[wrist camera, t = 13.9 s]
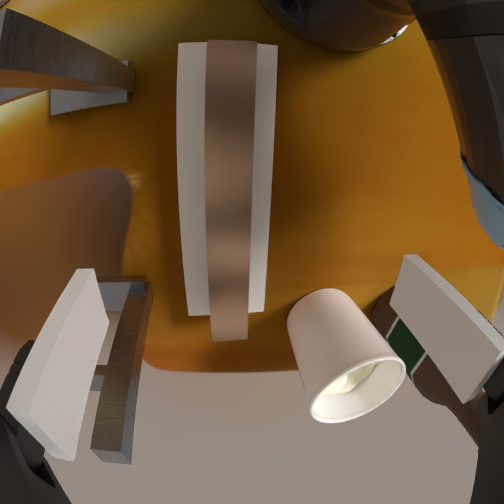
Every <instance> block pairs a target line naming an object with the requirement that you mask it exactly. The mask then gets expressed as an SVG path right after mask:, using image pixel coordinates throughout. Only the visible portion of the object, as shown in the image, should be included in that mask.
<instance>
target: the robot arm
mask: <svg viewBox="0 0 504 504" xmlns="http://www.w3.org/2000/svg"><path fill="white" fill-rule="evenodd" d="M259 2H260V4H261V5H262V6H263V8H264V9H265V10H266V11H267V13H268V14H269V15H270V16H271V17H272V18H273V19H274V20H275V21H276V22H278V23H279V24H280V25H281V26H282V27H284V28H285V29H286V30H288V31H289V32H291V33H292V34H294V35H296V36H297V37H299V38H301V39H303V40H305V41H307V42H309V43H312V44H314V45H317V46H319V47H323V48H326V49H330V50H335V51H343V52H357V51H364V50H368V49H372V48H376V47H380V46H383V45H385V44H387V43H389V42H391V41H393V40H394V39H396V38H397V37H398V36H399V35H400V34H401V33H402V32H403V31H404V30H405V29H406V27H407V25H408V24H411V23H412V22H413V21H414V20H416V19H417V21H418V23H419V25H420V27H421V29H422V31H423V33H424V35H425V38H426V41H427V43H428V46H429V48H430V50H431V53H432V55H433V58H434V60H435V63H436V65H437V68H438V71H439V73H440V76H441V79H442V82H443V85H444V88H445V91H446V94H447V97H448V101H449V104H450V107H451V111H452V114H453V118H454V122H455V126H456V130H457V134H458V138H459V143H460V158H461V161H462V167H463V169H464V171H465V173H466V175H467V180H468V185H469V190H470V196H471V202H472V206H473V209H474V212H475V215H476V217H477V219H478V221H479V223H480V225H481V226H482V228H483V230H484V231H485V232H486V234H487V235H488V236H489V238H490V239H491V240H492V241H493V242H494V243H495V244H496V245H497V246H498V247H500V248H502V249H504V0H259ZM389 304H390V306H391V307H392V308H393V309H394V311H395V312H396V313H397V314H398V316H399V317H400V318H401V319H402V321H403V322H404V323H405V325H406V326H407V327H408V328H409V330H410V331H411V332H412V334H413V335H414V336H415V338H416V339H417V340H418V342H419V343H420V344H421V346H422V347H423V348H424V350H425V351H426V352H427V354H428V355H429V356H430V358H431V359H432V360H433V362H434V363H435V365H436V366H437V367H438V369H439V370H440V372H441V373H442V374H443V376H444V377H445V379H446V380H447V382H448V383H449V384H450V386H451V387H452V389H453V390H454V392H455V393H456V395H457V396H458V398H459V399H460V401H461V402H462V404H464V403H466V402H468V401H470V400H471V399H473V398H475V396H476V395H477V394H478V393H479V391H480V390H481V389H482V388H484V390H485V392H484V394H483V395H482V396H481V397H480V399H479V400H478V401H477V402H476V404H475V405H474V406H473V408H472V411H475V409H476V408H477V407H478V406H479V405H480V404H481V406H480V407H479V409H478V410H477V412H479V413H481V430H480V443H479V453H478V462H477V468H476V475H475V481H474V486H473V492H472V496H471V501H470V504H504V337H503V336H502V335H501V333H500V332H499V331H498V330H497V329H496V328H495V327H494V326H492V324H491V323H490V322H489V321H488V320H486V318H485V317H484V316H483V315H482V313H481V312H480V311H478V310H477V309H475V308H474V307H473V306H472V305H471V304H470V303H469V302H468V301H467V300H466V299H465V298H464V297H463V296H462V295H461V294H460V293H459V292H458V291H457V290H456V289H455V288H454V287H453V286H452V285H450V284H449V283H448V282H447V281H446V280H445V279H444V278H443V277H442V276H441V275H440V274H438V273H437V272H436V271H435V270H434V269H433V268H432V267H431V266H429V265H428V264H427V263H426V262H425V261H424V260H423V259H421V258H420V257H419V256H418V255H417V254H411V255H404V258H403V262H402V265H401V269H400V272H399V275H398V279H397V282H396V285H395V288H394V291H393V294H392V297H391V300H390V303H389ZM108 326H109V321H108V317H107V314H106V311H105V308H104V304H103V301H102V297H101V294H100V290H99V286H98V283H97V279H96V275H95V271H94V269H77V270H76V272H75V273H74V275H73V276H72V278H71V280H70V281H69V283H68V284H67V286H66V288H65V289H64V291H63V293H62V294H61V296H60V298H59V299H58V301H57V303H56V304H55V306H54V308H53V310H52V312H51V313H50V315H49V317H48V318H47V320H46V322H45V324H44V326H43V328H42V329H41V331H40V333H39V335H38V337H37V339H36V341H34V340H29V341H28V342H27V343H26V344H25V345H24V346H23V347H22V348H21V349H20V350H19V352H18V354H17V355H16V358H15V359H14V364H12V366H11V368H10V370H9V373H8V374H7V376H6V378H5V381H4V383H3V385H2V388H1V390H0V504H71V502H70V500H69V499H68V497H67V496H66V494H65V492H64V491H63V489H62V487H61V486H60V484H59V482H58V480H57V479H56V477H55V475H54V473H53V471H52V469H51V468H50V466H49V464H48V462H47V461H46V459H45V458H44V457H43V455H44V451H45V449H46V450H47V451H48V452H49V453H50V454H51V455H52V456H53V457H56V458H60V459H65V460H69V461H74V460H75V454H76V448H77V443H78V438H79V433H80V428H81V424H82V419H83V414H84V410H85V406H86V402H87V397H88V394H89V390H90V386H91V382H92V379H93V375H94V371H95V368H96V364H97V361H98V357H99V354H100V351H101V348H102V344H103V341H104V338H105V335H106V332H107V329H108Z"/></svg>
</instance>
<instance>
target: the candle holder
mask: <svg viewBox="0 0 504 504" xmlns="http://www.w3.org/2000/svg"><path fill="white" fill-rule="evenodd" d="M287 330H288V334H289V338H290V341H291V345H292V348H293V352H294V356H295V359H296V363H297V366H298V370H299V373H300V377H301V380H302V383H303V387H304V390H305V394H306V397H307V401H308V405H309V412H310V414H311V416H312V417H313V418H314V419H315V420H317V421H319V422H323V423H338V422H343V421H348V420H351V419H354V418H357V417H359V416H362V415H364V414H366V413H368V412H370V411H371V410H373V409H375V408H376V407H378V406H379V405H380V404H382V403H383V402H385V401H386V400H387V399H388V398H389V397H390V396H391V395H392V394H393V393H394V392H395V391H396V390H397V388H398V387H399V386H400V385H401V383H402V381H403V379H404V377H405V373H406V366H405V363H404V362H403V360H402V359H401V358H399V357H398V355H397V354H396V353H395V352H394V350H393V349H392V348H391V347H390V345H389V344H388V343H387V342H386V340H385V339H384V338H383V337H382V335H381V334H380V333H379V332H378V330H377V329H376V328H375V327H374V326H373V324H372V323H371V322H370V321H369V319H368V318H367V317H366V316H365V315H364V313H363V312H362V311H361V310H360V309H359V307H358V306H357V305H356V304H355V303H354V302H353V300H352V299H351V298H350V297H349V296H348V295H347V294H346V293H344V292H343V291H341V290H338V289H333V288H326V289H320V290H316V291H314V292H311V293H309V294H307V295H306V296H304V297H303V298H301V299H300V300H299V301H298V302H297V303H296V304H295V305H294V307H293V308H292V309H291V311H290V313H289V315H288V319H287Z"/></svg>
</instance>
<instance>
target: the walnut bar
mask: <svg viewBox="0 0 504 504" xmlns="http://www.w3.org/2000/svg"><path fill="white" fill-rule="evenodd" d="M256 68H257V41H244V40H207V51H206V77H205V133H204V160H205V218H206V247H207V269H208V289H209V305H210V320H211V333H212V342H218V341H233V340H246V339H247V337H248V305H249V274H250V243H251V213H252V183H253V154H254V125H255V96H256Z"/></svg>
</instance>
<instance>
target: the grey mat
mask: <svg viewBox="0 0 504 504" xmlns="http://www.w3.org/2000/svg"><path fill="white" fill-rule="evenodd" d="M206 51H207V42H193V43H178V65H177V108H176V130H177V175H178V199H179V216H180V232H181V245H182V257H183V268H184V279H185V289H186V298H187V307H188V315H189V316H199V315H210V305H209V289H208V269H207V247H206V218H205V160H204V133H205V77H206ZM277 55H278V45H268V44H257V68H256V96H255V125H254V154H253V183H252V213H251V243H250V274H249V305H248V313H250V312H263V311H264V300H265V286H266V271H267V256H268V240H269V223H270V206H271V188H272V170H273V150H274V129H275V107H276V82H277Z"/></svg>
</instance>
